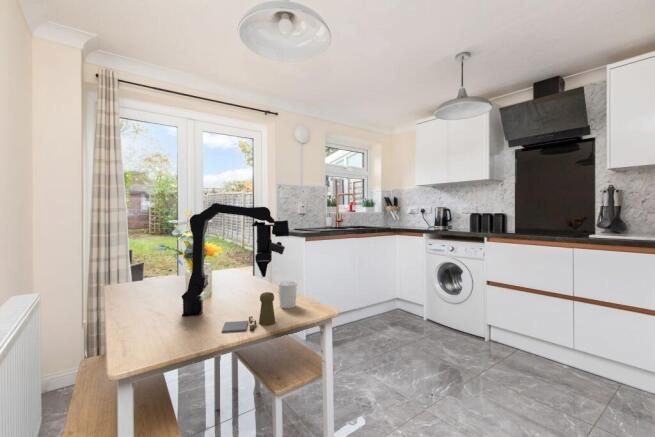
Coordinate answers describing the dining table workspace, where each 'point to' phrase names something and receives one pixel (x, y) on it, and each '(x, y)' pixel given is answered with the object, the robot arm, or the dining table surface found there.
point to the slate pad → (235, 326)
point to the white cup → (287, 294)
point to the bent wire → (252, 323)
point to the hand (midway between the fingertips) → (264, 274)
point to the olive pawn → (267, 309)
